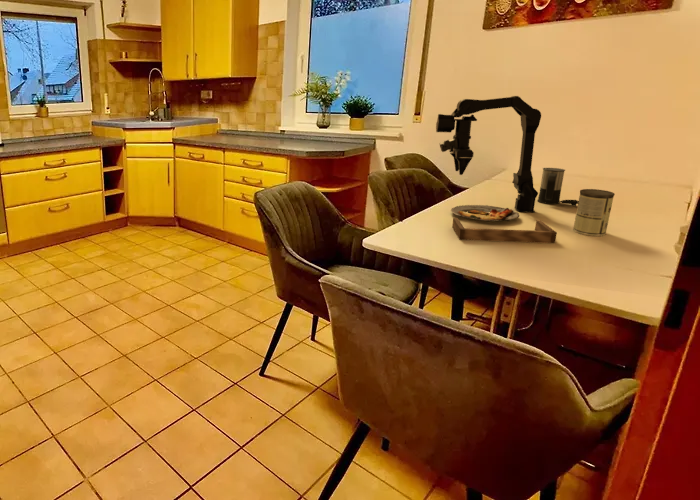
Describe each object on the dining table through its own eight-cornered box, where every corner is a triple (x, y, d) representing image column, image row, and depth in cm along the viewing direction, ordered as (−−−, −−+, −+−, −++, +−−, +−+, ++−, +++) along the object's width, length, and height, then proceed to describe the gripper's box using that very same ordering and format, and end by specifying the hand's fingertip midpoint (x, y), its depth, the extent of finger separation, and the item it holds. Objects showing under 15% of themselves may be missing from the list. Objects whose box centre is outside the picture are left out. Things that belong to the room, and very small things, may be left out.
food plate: (528, 217, 171) (529, 208, 170) (501, 229, 155) (502, 219, 154) (470, 207, 188) (470, 199, 187) (439, 217, 172) (440, 208, 171)
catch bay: (539, 230, 155) (540, 220, 154) (555, 243, 141) (556, 232, 140) (452, 227, 156) (453, 217, 155) (459, 239, 142) (460, 229, 141)
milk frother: (534, 199, 203) (540, 166, 198) (571, 201, 201) (577, 168, 196) (543, 206, 190) (548, 171, 185) (582, 208, 188) (589, 173, 183)
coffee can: (571, 226, 160) (578, 187, 156) (602, 229, 157) (611, 190, 152) (574, 234, 151) (582, 193, 146) (608, 237, 148) (617, 196, 143)
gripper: (438, 130, 183) (435, 168, 188) (445, 134, 165) (441, 176, 170) (466, 131, 182) (462, 169, 187) (475, 135, 165) (471, 177, 170)
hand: (458, 172), depth 179 cm, fingers open, 9 cm apart
